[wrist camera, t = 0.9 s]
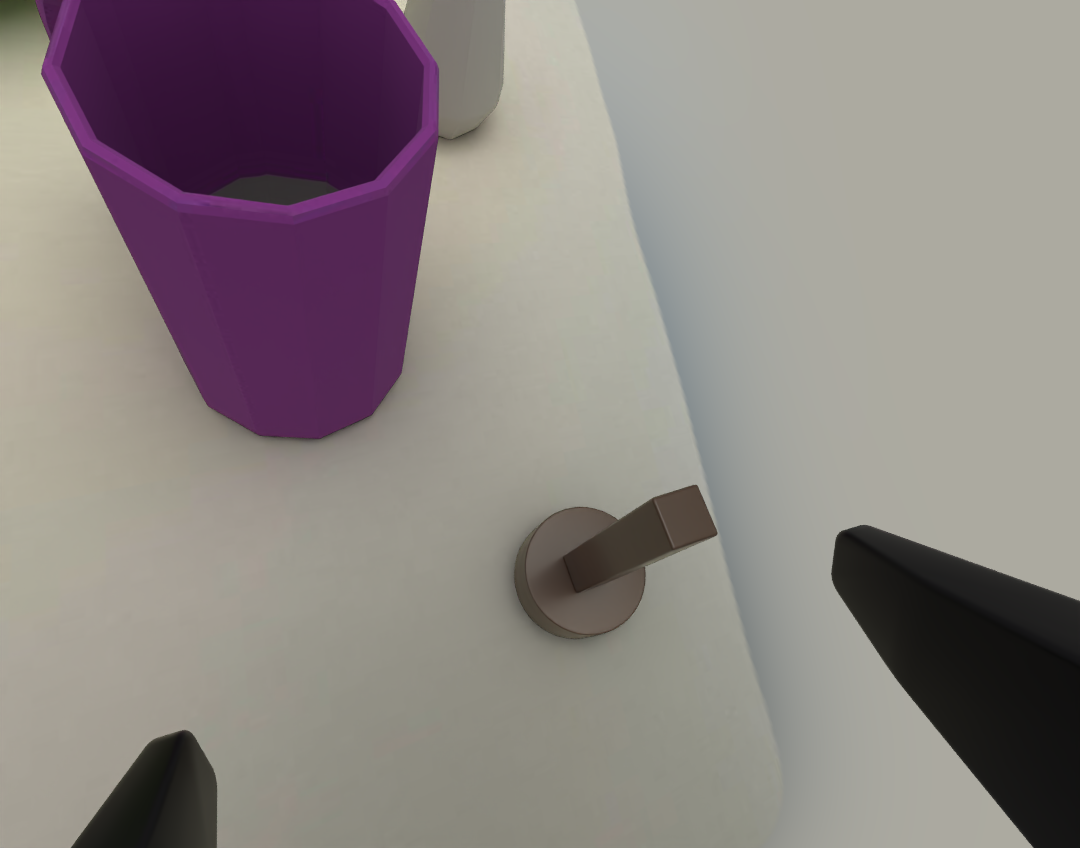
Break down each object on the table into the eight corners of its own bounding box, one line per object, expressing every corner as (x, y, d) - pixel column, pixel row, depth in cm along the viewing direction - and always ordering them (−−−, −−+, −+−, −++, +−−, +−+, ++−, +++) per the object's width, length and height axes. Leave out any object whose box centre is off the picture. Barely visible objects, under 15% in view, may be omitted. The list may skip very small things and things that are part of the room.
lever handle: (645, 615, 29) (795, 575, 19) (537, 656, 27) (642, 636, 18) (603, 504, 31) (722, 415, 21) (497, 536, 29) (574, 455, 19)
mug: (287, 489, 27) (226, 290, 14) (35, 236, 28) (-247, -172, 15) (445, 358, 31) (516, 106, 18) (219, 141, 33) (126, -249, 19)
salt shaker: (481, 165, 36) (543, -86, 24) (376, 130, 35) (389, -149, 24) (502, 91, 39) (568, -170, 27) (404, 56, 38) (428, -231, 26)
